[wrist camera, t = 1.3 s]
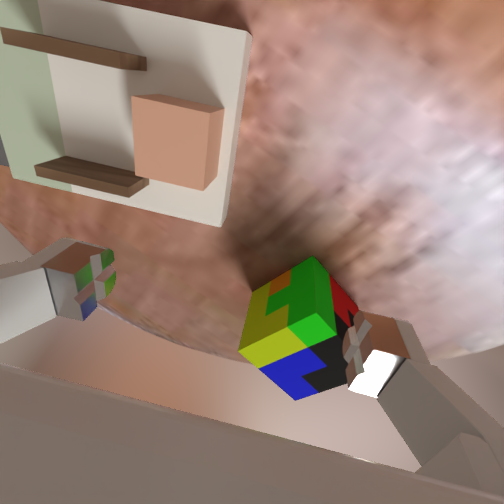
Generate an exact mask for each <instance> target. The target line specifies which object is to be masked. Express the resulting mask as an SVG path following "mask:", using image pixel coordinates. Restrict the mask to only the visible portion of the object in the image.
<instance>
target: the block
mask: <svg viewBox="0 0 504 504" xmlns="http://www.w3.org/2000/svg"><path fill="white" fill-rule="evenodd" d="M131 103H132V122H133V142H134V162H135V175H136V176H140V177H144V178H149V179H153V180H157V181H162V182H166V183H170V184H174V185H179V186H183V187H187V188H191V189H196V190H200V191H204V190H205V189H206V188H207V187H208V186H209V184H210V183H211V182H212V181H213V180H214V179H215V178H216V177H217V174H218V165H219V156H220V147H221V138H222V129H223V121H224V112H225V109H224V108H220V107H215V106H211V105H206V104H202V103H197V102H193V101H188V100H184V99H179V98H175V97H170V96H166V95H161V94H150V95H136V96H131Z"/></svg>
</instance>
